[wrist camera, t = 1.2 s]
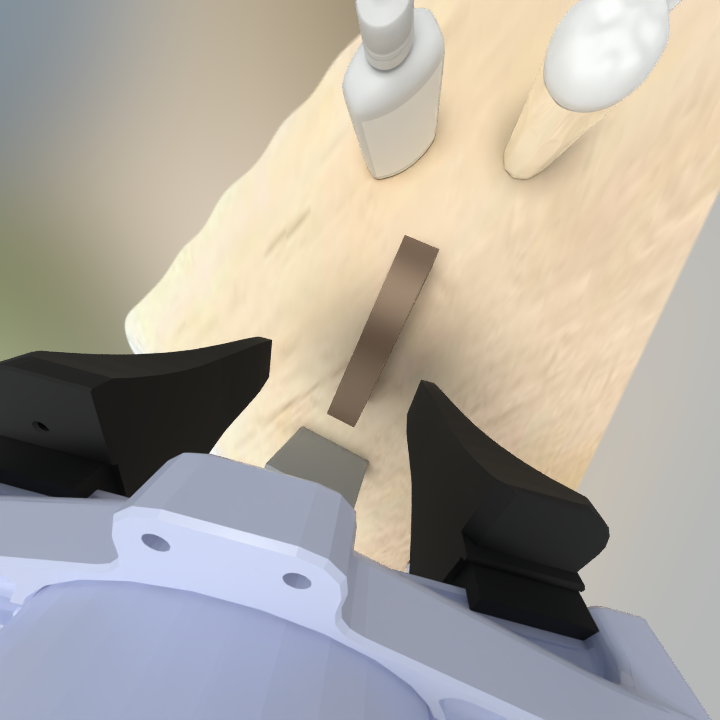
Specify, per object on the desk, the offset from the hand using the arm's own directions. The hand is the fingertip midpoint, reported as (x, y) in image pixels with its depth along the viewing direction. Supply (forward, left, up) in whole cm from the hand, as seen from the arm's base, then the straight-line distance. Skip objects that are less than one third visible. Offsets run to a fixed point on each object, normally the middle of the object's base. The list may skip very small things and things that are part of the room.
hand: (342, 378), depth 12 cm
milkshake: (+7, -17, -13) cm, 23 cm away
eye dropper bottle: (+13, -9, -13) cm, 21 cm away
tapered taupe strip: (+1, -1, -13) cm, 13 cm away
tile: (-8, +10, -13) cm, 18 cm away
